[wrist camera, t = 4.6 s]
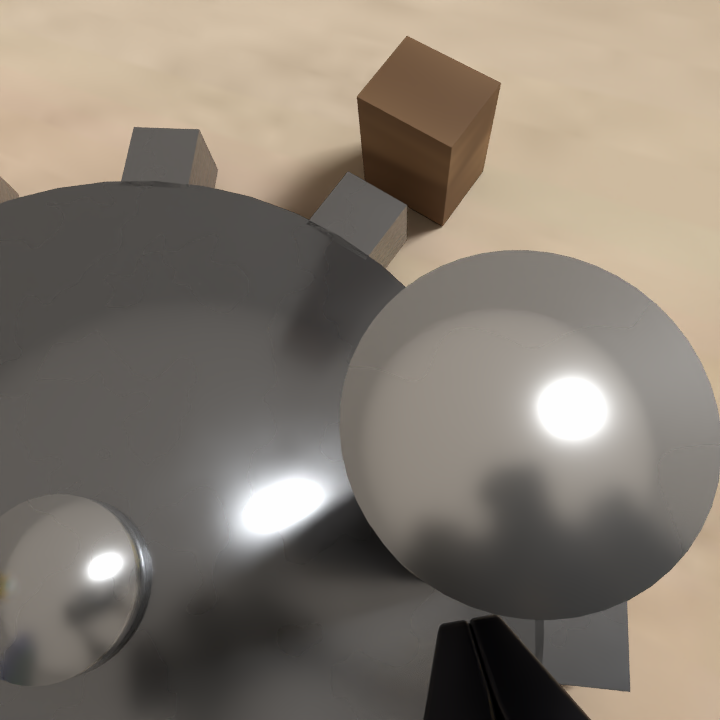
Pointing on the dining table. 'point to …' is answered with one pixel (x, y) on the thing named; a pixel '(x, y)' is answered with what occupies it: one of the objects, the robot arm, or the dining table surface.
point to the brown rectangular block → (426, 128)
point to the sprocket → (316, 452)
